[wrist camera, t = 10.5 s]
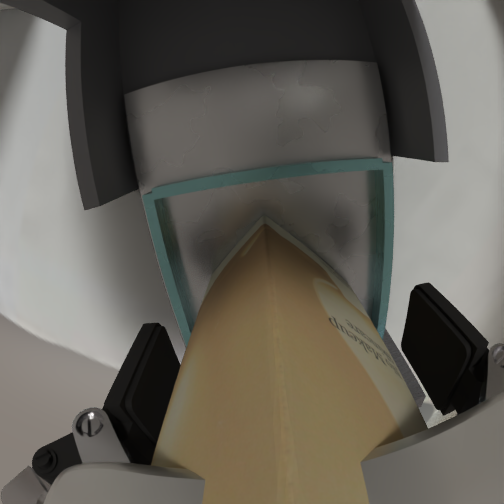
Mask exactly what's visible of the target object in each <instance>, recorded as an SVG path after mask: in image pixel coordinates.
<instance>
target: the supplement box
mask: <svg viewBox="0 0 504 504" xmlns="http://www.w3.org/2000/svg"><path fill="white" fill-rule="evenodd" d="M3 9H15V8H14V7H11V6H8V5H6V4H3V3H0V10H3Z"/></svg>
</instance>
